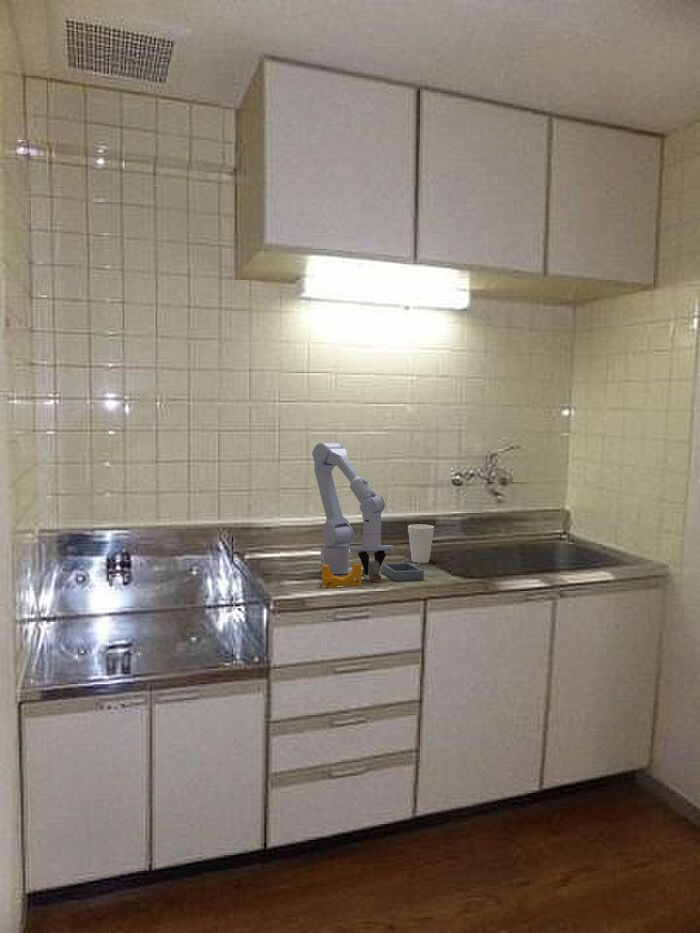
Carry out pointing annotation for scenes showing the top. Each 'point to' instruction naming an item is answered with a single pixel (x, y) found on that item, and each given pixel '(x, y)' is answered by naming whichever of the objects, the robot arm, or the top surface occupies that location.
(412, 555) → the foam cup
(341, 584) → the pipe clamp
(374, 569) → the grey block
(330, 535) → the robot arm
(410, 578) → the parts tray
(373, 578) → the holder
